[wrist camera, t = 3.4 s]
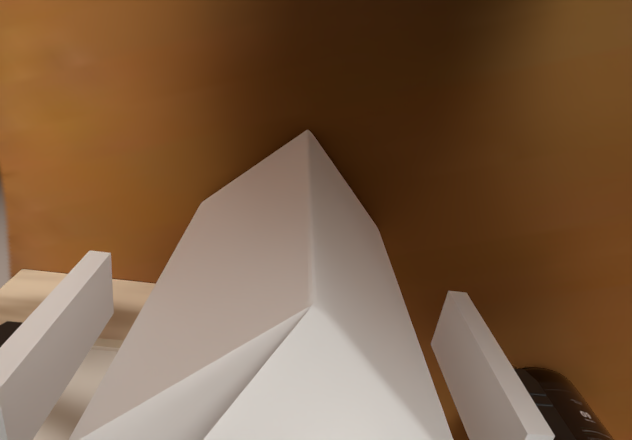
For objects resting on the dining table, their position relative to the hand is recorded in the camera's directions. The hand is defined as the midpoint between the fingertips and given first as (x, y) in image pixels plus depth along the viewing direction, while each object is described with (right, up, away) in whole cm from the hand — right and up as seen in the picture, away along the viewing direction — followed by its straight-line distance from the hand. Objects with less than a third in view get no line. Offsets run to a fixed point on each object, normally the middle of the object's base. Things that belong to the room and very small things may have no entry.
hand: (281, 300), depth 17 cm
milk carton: (0, +4, +7) cm, 8 cm away
